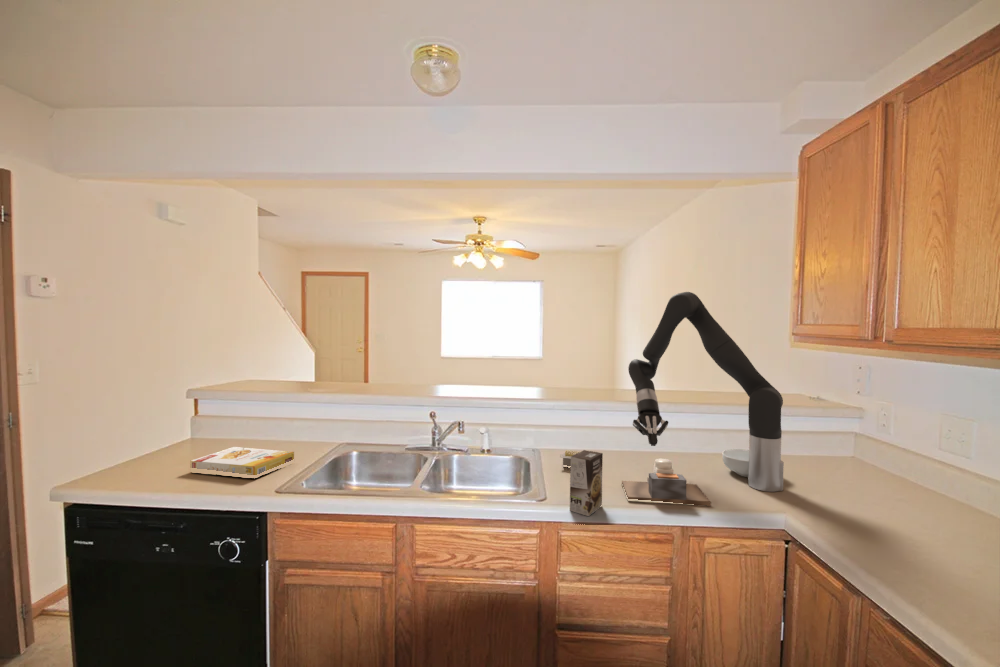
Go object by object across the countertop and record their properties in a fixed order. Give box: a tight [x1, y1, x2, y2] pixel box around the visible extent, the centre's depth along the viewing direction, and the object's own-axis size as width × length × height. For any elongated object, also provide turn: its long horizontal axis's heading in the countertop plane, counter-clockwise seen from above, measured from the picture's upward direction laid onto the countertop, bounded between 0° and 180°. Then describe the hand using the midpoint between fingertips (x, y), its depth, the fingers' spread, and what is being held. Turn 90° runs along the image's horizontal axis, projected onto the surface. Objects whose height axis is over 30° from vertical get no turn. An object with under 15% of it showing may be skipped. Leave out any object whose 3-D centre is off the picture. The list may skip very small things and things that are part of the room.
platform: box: [559, 449, 580, 466], centre depth 170 cm, size 12×18×7 cm, turn 70°
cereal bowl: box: [721, 448, 749, 478], centre depth 164 cm, size 17×17×7 cm
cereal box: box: [189, 446, 295, 475], centre depth 168 cm, size 20×6×28 cm
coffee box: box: [569, 449, 604, 517], centre depth 133 cm, size 9×6×16 cm
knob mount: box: [621, 472, 712, 507], centre depth 144 cm, size 24×14×8 cm, turn 83°
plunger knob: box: [653, 458, 674, 474], centre depth 144 cm, size 5×5×9 cm
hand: (653, 444), depth 159 cm, fingers closed
